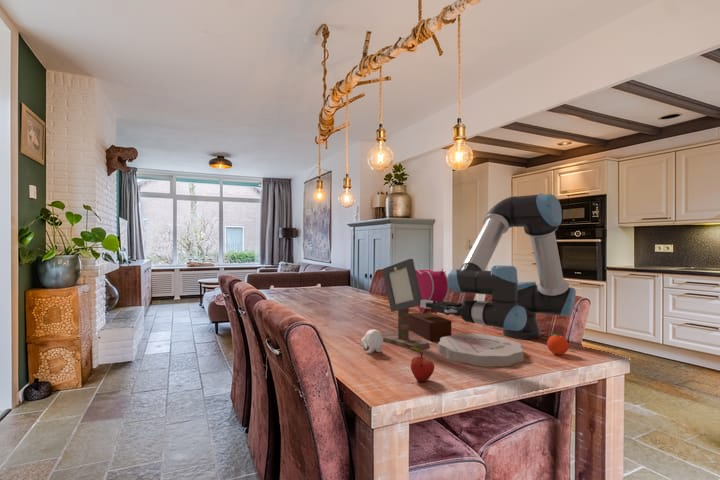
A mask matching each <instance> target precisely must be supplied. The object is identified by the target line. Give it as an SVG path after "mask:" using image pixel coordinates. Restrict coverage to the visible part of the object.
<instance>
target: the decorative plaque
mask: <svg viewBox="0 0 720 480" xmlns="http://www.w3.org/2000/svg"><path fill="white" fill-rule="evenodd" d="M437 345H438V347H437V349H438V350H437V351H438V353H439V354H440V355H442V356H444V357H447V358H448V359H449V360H450V361H452V362H459V363H465V364H469V365H473V366H477V367H489V366H492V367H495V366H496V367H508V366H511V365H513V364H516V363H521V362H523V361H524V349H523V348H522V344H521V343H519V342H516V341H512V340H510V339H508V338H507V337H502V336H494V335H488V334H485V333H483V334H482V333H455V334H451V336H446V337H441V338H440V340H439V342H438V343H437Z"/></svg>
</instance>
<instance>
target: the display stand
mask: <svg viewBox="0 0 720 480" xmlns="http://www.w3.org/2000/svg"><path fill="white" fill-rule="evenodd" d="M409 309H410V308H407V309H403V310H399V311H397V313H398V314H397V316H398V317H397V318H398V319H397V325H398V326H397V328H398V329H397V330H398V331H397V333H393V332H385V333H381V335H382V337H383V342H385V343H388V344H392V345H395V346H399V347H403V348H406V349H409V348H411V349H410V350H413V351H416V350H415V349H412V347H416V348H418V349H419V350H422V349H426V348H429V347H430V342H429V341H428V342H427V341H424V340H420V339H416V338H413V337H410V335H409V333H410V330H409V312H410V310H409Z"/></svg>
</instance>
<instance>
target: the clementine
mask: <svg viewBox="0 0 720 480" xmlns="http://www.w3.org/2000/svg"><path fill="white" fill-rule="evenodd" d="M546 345H547V346H546V347H547V349H548V350H549V351H550V353H552V354H555V355H557V356H560V355H564V354H566V353H567V352H568V350H569V343H568V340H567V339H566V338H565V337H564V336H562V335H559V334H550V335H549V336H548V339H547V342H546Z"/></svg>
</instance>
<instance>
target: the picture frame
mask: <svg viewBox="0 0 720 480" xmlns="http://www.w3.org/2000/svg"><path fill="white" fill-rule="evenodd" d="M416 270H417V269H416V266H415V262H414V258H409V259H405V260H403V261H400V262H398V263H394V264H392V265H390V266H386V267H384V268H382V274H383V279H384V283H385V289H386V292H387V293H386V294H387V298H388V303H389V306H390V307H389V308H390V313H393V312H398V311H399V310H403V309H407V308H409V309H411V308H414V307H418V306H420V300H422V297H421V292H420V288H419V284H418V279H417V275H416Z"/></svg>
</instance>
